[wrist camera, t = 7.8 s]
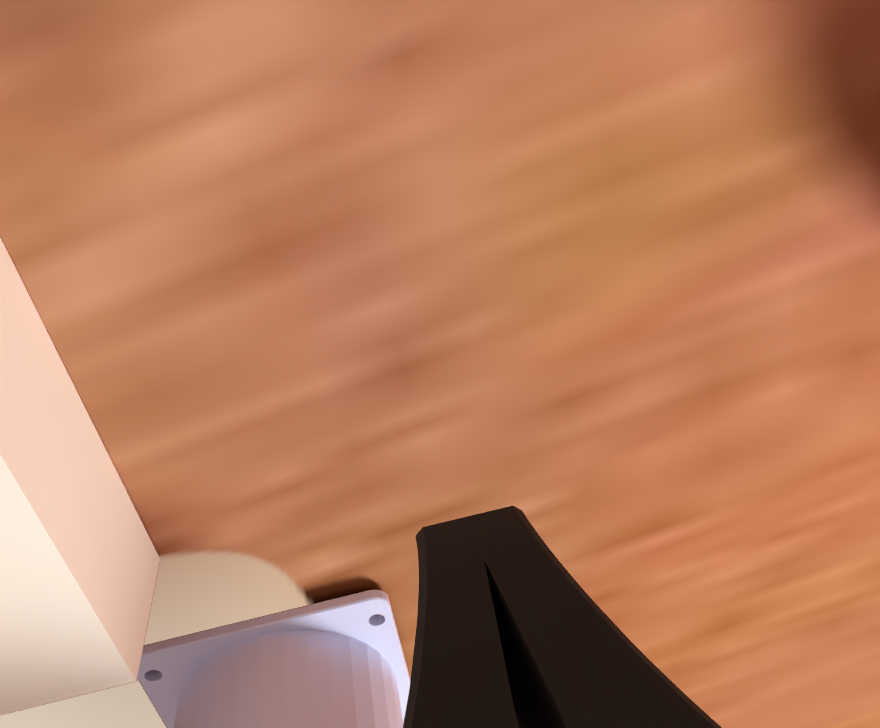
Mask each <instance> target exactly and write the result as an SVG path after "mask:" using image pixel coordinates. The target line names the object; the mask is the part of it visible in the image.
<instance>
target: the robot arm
mask: <svg viewBox="0 0 880 728" xmlns="http://www.w3.org/2000/svg"><path fill="white" fill-rule="evenodd" d="M416 541H417V547H418V559H419V599H418V617H417V628H416V637H415V646H414V656H413V665H412V674H411V680H410V676H409V673H408V669H407V665H406V662H405V658H404V654H403V650H402V647H401V643H400V639H399V635H398V632H397V628H396V624H395V620H394V617H393V613H392V609H391V606H390V602H389V598H388V596H387V594H386V593H385V592H383V591H381V590H368V591H364V592H360V593H356V594H352V595H348V596H344V597H340V598H336V599H331V600H327V601H323V602H319V603H315V604H311V605H307V606H303V607H299V608H295V609H291V610H287V611H282V612H279V613H274V614H270V615H266V616H262V617H258V618H254V619H250V620H246V621H242V622H238V623H234V624H229V625H225V626H221V627H217V628H213V629H209V630H205V631H201V632H197V633H193V634H189V635H185V636H180V637H176V638H172V639H168V640H164V641H160V642H156V643H152V644H148V645H144V646H143V650H142V655H141V661H140V666H139V671H138V676H137V679H138V680H139V682H140V683H141V685H142V687H143V689H144V690H145V692H146V694H147V695H148V697H149V699H150V700H151V702H152V704H153V706H154V707H155V709H156V711H157V712H158V714H159V716H160V717H161V719H162V721H163V722H164V724H165V726H166V727H167V728H721V727H720V726H719V725H718V724H717V723H716V722H715V721H714V720H712V719H711V718H710V717H709V716H708V715H707V714H706V713H705V712H704V711H702V710H701V709H700V708H699V707H698V706H697V705H696V704H695V703H694V702H693V701H692V700H691V699H689V698H688V697H687V696H686V695H685V694H684V693H683V692H682V691H681V690H680V689H679V688H678V687H677V686H676V685H675V684H674V683H673V682H672V681H670V680H669V679H668V678H667V677H666V676H665V675H664V674H663V673H662V672H661V671H660V670H659V669H658V668H657V667H656V666H655V665H654V664H653V663H652V662H651V661H650V660H649V659H648V658H647V657H646V656H645V655H644V654H643V653H642V652H641V651H640V650H639V649H638V648H637V647H636V646H635V645H634V644H633V643H632V642H631V641H630V640H629V639H628V638H627V637H626V636H625V635H624V634H623V633H622V632H621V630H620V629H619V628H618V627H617V626H616V625H615V624H614V623H613V622H612V621H611V620H610V619H609V618H608V616H607V615H606V614H605V613H604V612H603V611H602V610H601V609H600V608H599V607H598V606H597V605H596V604H595V602H594V601H593V600H592V599H591V598H590V597H589V596H588V595H587V594H586V592H585V591H584V590H583V589H582V588H581V587H580V586H579V584H578V583H577V582H576V581H575V580H574V579H573V577H572V576H571V575H570V574H569V573H568V571H567V570H566V569H565V568H564V567H563V565H562V564H561V563H560V562H559V561H558V559H557V558H556V557H555V556H554V554H553V553H552V552H551V551H550V549H549V548H548V547H547V545H546V544H545V543H544V541H543V540H542V539H541V538H540V536H539V535H538V533H537V532H536V531H535V529H534V528H533V526H532V525H531V524H530V522H529V521H528V519H527V518H526V516H525V515H524V513H523V512H522V510H520V509H518V508H516V507H514V506H510V507H506V508H502V509H497V510H493V511H489V512H485V513H481V514H476V515H472V516H468V517H464V518H460V519H456V520H451V521H447V522H443V523H439V524H435V525H430V526H426V527H423V528H422V529H421V530H420V531H419V532H418V534H417V535H416ZM375 614H379V615H377V616H373V615H375Z"/></svg>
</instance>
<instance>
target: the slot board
mask: <svg viewBox="0 0 880 728" xmlns="http://www.w3.org/2000/svg"><path fill="white" fill-rule="evenodd" d="M159 564H160V558H159V556H158V554H157V552H156V550H155V548H154V546H153V544H152V542H151V540H150V538H149V536H148V534H147V532H146V530H145V528H144V526H143V524H142V522H141V520H140V518H139V516H138V514H137V512H136V510H135V508H134V506H133V503H132V501H131V499H130V497H129V495H128V493H127V491H126V489H125V487H124V485H123V483H122V481H121V479H120V477H119V475H118V473H117V471H116V469H115V467H114V465H113V463H112V461H111V459H110V457H109V455H108V453H107V451H106V449H105V447H104V445H103V443H102V441H101V439H100V437H99V435H98V433H97V431H96V429H95V427H94V425H93V423H92V421H91V419H90V417H89V415H88V413H87V411H86V409H85V407H84V405H83V403H82V401H81V399H80V397H79V395H78V393H77V391H76V389H75V387H74V385H73V383H72V381H71V379H70V377H69V375H68V373H67V371H66V369H65V367H64V365H63V363H62V361H61V359H60V357H59V355H58V353H57V351H56V349H55V347H54V345H53V343H52V341H51V339H50V337H49V335H48V333H47V331H46V329H45V327H44V325H43V323H42V321H41V319H40V317H39V315H38V313H37V311H36V309H35V306H34V304H33V302H32V300H31V298H30V296H29V294H28V292H27V290H26V288H25V286H24V284H23V282H22V280H21V278H20V276H19V274H18V272H17V270H16V268H15V266H14V264H13V262H12V260H11V258H10V256H9V254H8V252H7V250H6V248H5V246H4V244H3V242H2V240H1V238H0V715H4V714H7V713H12V712H16V711H20V710H24V709H28V708H31V707H36V706H40V705H44V704H48V703H52V702H56V701H60V700H64V699H68V698H72V697H76V696H80V695H84V694H88V693H92V692H96V691H100V690H104V689H108V688H112V687H116V686H120V685H124V684H128V683H132V682H136V681H137V676H138V671H139V666H140V661H141V655H142V650H143V645H144V640H145V635H146V630H147V625H148V620H149V614H150V609H151V605H152V599H153V594H154V589H155V584H156V579H157V574H158V569H159Z"/></svg>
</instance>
